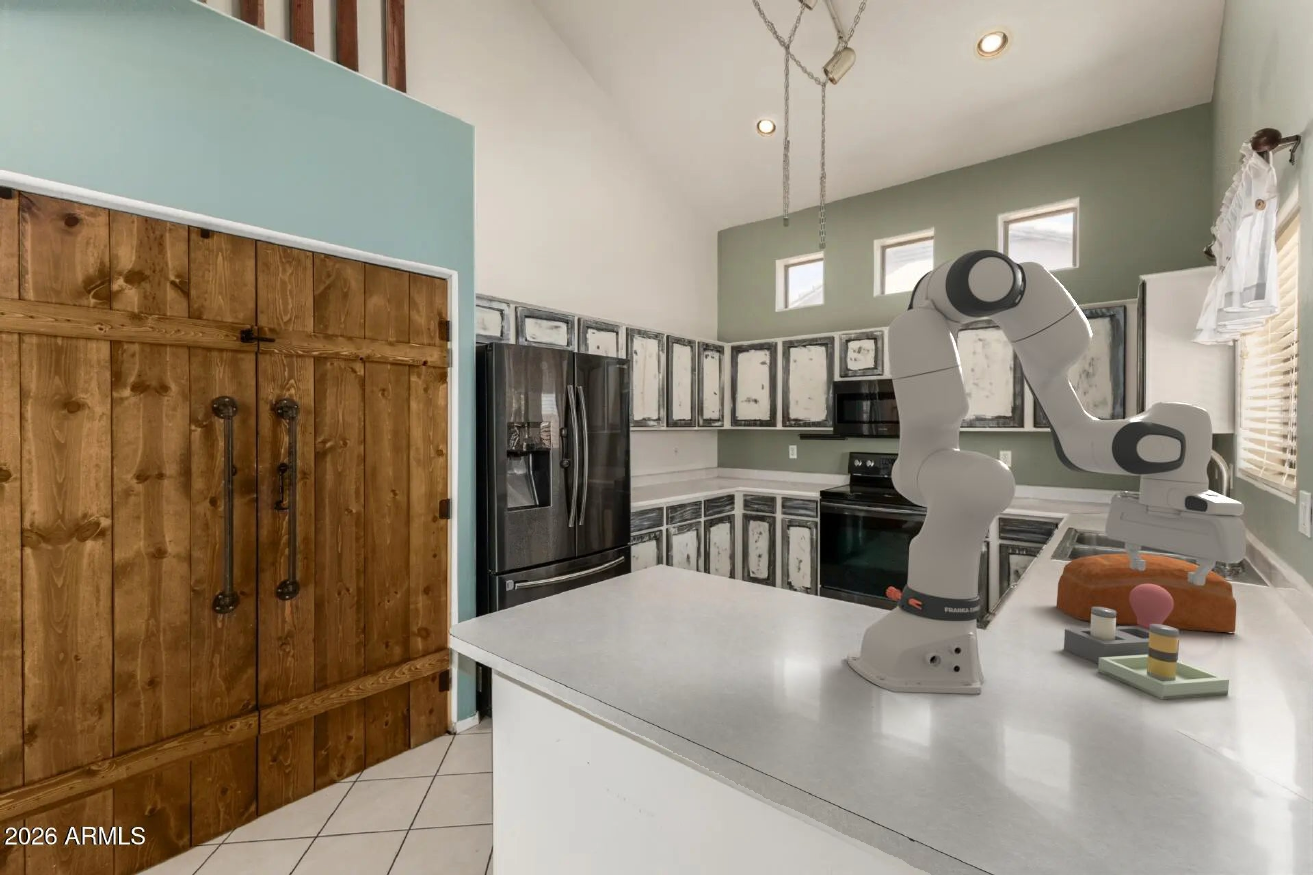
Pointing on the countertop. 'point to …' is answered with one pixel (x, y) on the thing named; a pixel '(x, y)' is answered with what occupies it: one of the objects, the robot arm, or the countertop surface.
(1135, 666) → the tray
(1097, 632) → the ball
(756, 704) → the countertop surface
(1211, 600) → the bread
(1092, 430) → the robot arm
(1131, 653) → the fuse holder
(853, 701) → the countertop surface
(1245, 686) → the countertop surface
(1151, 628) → the cylinder
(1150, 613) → the light bulb
